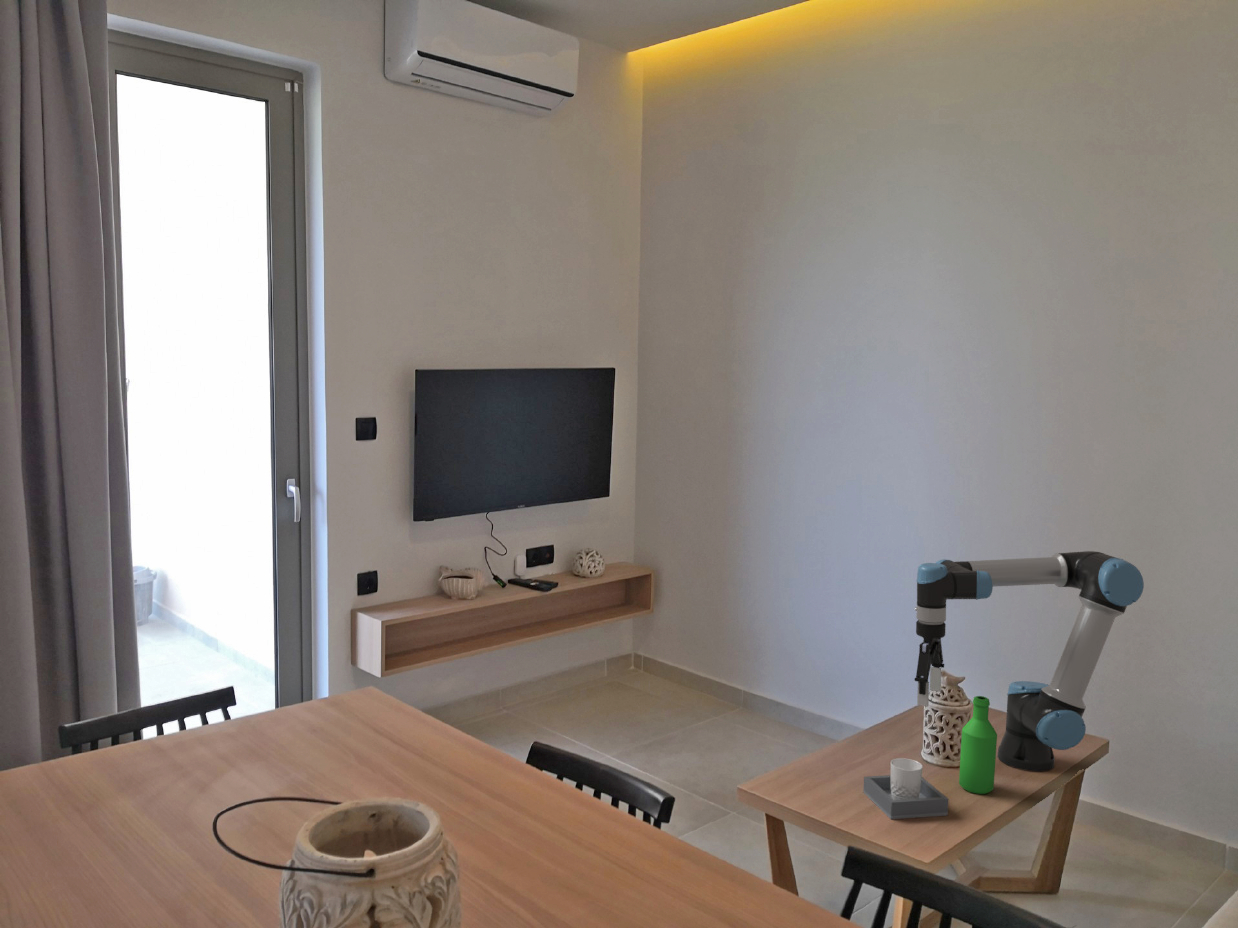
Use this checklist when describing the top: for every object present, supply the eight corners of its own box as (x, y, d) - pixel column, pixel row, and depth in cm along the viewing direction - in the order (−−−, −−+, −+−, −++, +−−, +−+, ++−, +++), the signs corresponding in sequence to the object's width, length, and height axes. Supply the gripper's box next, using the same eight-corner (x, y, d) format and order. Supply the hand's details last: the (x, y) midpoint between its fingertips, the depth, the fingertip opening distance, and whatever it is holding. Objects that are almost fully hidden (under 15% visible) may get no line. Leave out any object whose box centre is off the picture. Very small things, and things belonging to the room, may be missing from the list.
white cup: (922, 810, 238) (924, 771, 237) (889, 806, 240) (891, 768, 239) (918, 796, 246) (920, 759, 245) (887, 793, 247) (889, 756, 246)
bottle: (960, 778, 260) (966, 690, 258) (994, 785, 256) (1000, 695, 254) (957, 790, 252) (962, 699, 250) (991, 798, 248) (997, 705, 246)
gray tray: (917, 788, 252) (917, 773, 252) (947, 815, 237) (948, 798, 237) (863, 792, 250) (864, 776, 249) (890, 819, 234) (891, 802, 234)
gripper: (928, 609, 267) (926, 682, 269) (904, 629, 246) (902, 709, 248) (955, 612, 263) (953, 686, 265) (934, 633, 242) (932, 714, 244)
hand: (929, 697), depth 256 cm, fingers open, 13 cm apart
